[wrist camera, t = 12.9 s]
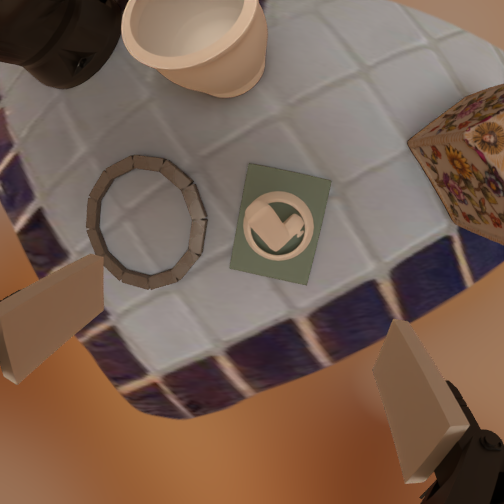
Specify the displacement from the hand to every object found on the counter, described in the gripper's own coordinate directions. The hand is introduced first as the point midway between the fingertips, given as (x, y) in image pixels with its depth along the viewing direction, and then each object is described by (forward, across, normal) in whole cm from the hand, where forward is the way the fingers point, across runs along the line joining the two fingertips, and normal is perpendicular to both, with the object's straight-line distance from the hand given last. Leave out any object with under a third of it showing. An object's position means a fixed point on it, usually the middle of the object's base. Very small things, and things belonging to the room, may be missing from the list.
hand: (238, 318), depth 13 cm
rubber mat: (+23, +1, 0) cm, 23 cm away
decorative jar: (+23, +21, +13) cm, 34 cm away
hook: (+22, +1, 0) cm, 23 cm away
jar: (+23, -8, +17) cm, 30 cm away
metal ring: (+23, -15, -3) cm, 28 cm away
